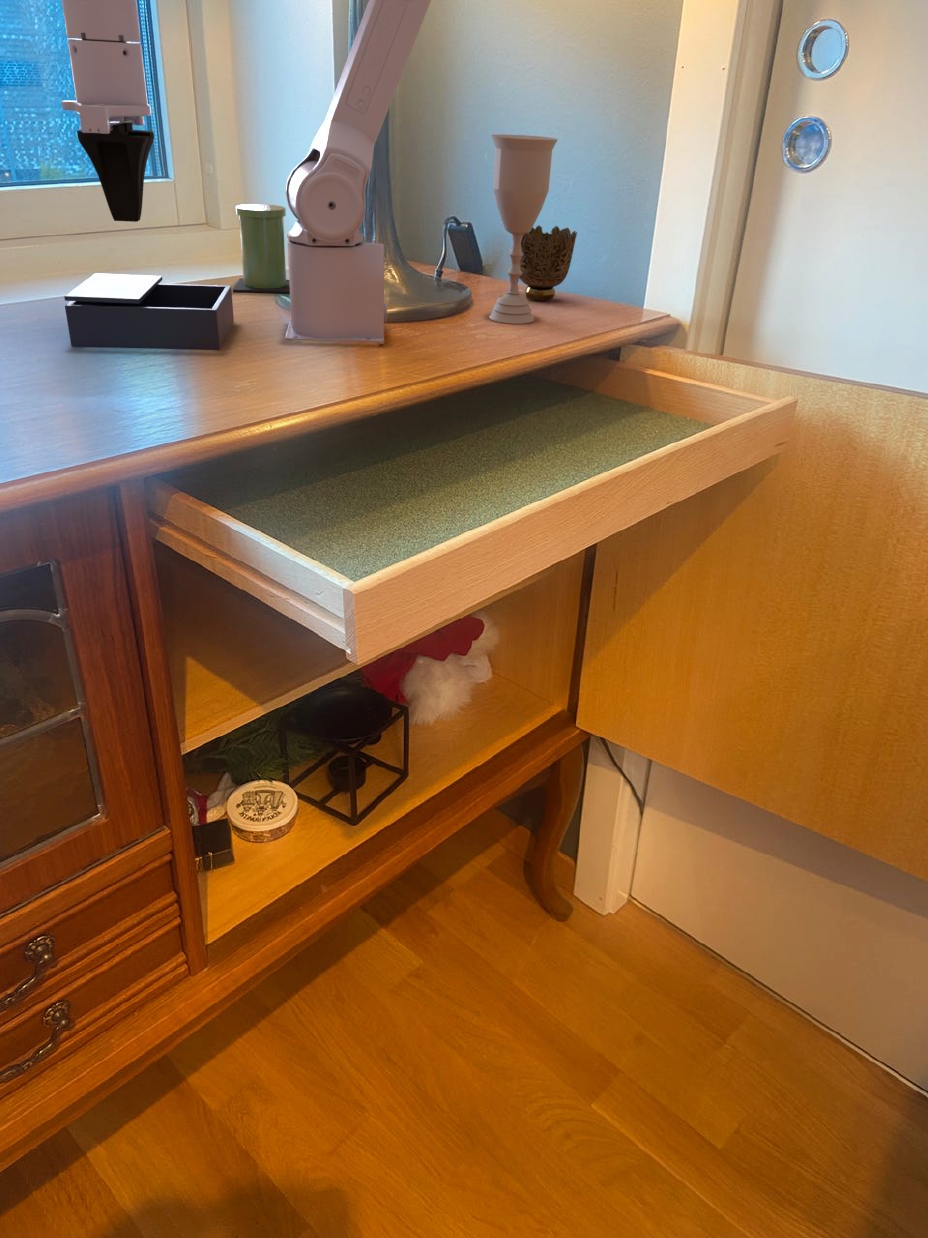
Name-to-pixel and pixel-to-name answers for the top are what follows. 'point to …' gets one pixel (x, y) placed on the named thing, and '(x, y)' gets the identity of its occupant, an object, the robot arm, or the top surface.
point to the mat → (244, 289)
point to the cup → (545, 261)
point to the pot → (262, 245)
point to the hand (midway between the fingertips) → (127, 220)
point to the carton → (156, 319)
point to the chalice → (519, 207)
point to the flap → (114, 288)
